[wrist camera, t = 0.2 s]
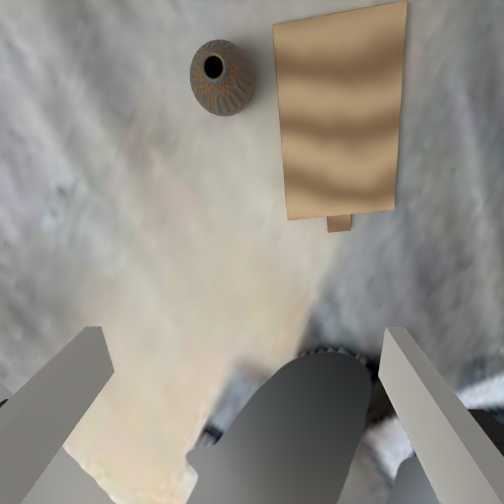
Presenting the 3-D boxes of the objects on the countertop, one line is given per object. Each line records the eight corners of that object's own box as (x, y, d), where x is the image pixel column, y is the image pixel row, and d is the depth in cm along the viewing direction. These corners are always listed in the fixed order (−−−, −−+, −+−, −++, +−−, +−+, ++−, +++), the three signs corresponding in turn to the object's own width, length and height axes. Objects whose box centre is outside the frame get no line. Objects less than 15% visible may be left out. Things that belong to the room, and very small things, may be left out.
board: (272, 29, 30) (272, 24, 29) (401, 6, 29) (407, 0, 28) (288, 234, 38) (289, 236, 37) (389, 224, 37) (392, 226, 36)
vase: (266, 98, 33) (264, 81, 24) (219, 130, 34) (203, 123, 26) (236, 40, 31) (224, 0, 23) (188, 77, 32) (161, 52, 24)
